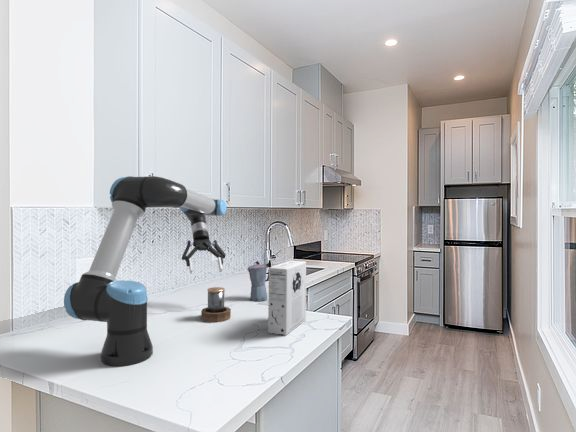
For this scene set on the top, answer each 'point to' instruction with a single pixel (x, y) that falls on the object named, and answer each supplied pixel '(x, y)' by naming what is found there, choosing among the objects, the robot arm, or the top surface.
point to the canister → (216, 300)
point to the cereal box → (286, 297)
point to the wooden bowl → (215, 315)
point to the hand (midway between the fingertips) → (206, 271)
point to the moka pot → (258, 281)
